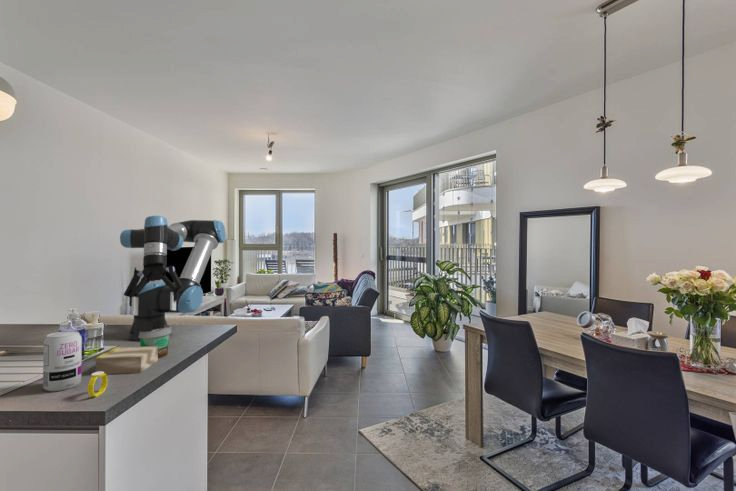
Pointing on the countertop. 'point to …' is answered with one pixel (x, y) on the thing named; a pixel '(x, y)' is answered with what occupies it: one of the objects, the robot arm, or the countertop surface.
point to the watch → (92, 382)
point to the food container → (157, 339)
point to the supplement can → (62, 360)
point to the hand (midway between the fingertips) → (153, 312)
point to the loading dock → (127, 359)
